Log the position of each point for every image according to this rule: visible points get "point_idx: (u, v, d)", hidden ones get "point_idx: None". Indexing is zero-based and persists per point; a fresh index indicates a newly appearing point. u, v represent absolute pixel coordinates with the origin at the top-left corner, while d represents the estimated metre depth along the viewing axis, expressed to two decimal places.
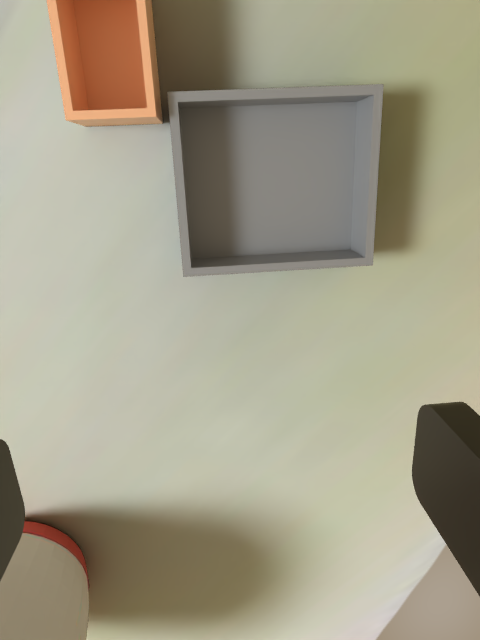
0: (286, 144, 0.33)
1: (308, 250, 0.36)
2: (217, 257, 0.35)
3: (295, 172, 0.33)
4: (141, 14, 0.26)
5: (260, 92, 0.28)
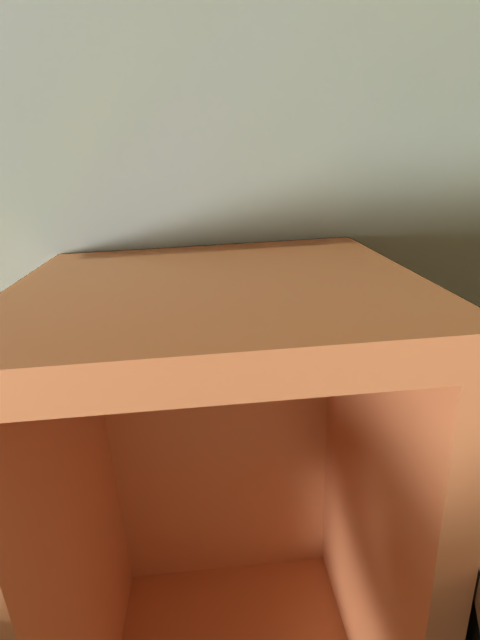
0: None
1: None
2: None
3: None
4: (456, 555, 0.05)
5: None
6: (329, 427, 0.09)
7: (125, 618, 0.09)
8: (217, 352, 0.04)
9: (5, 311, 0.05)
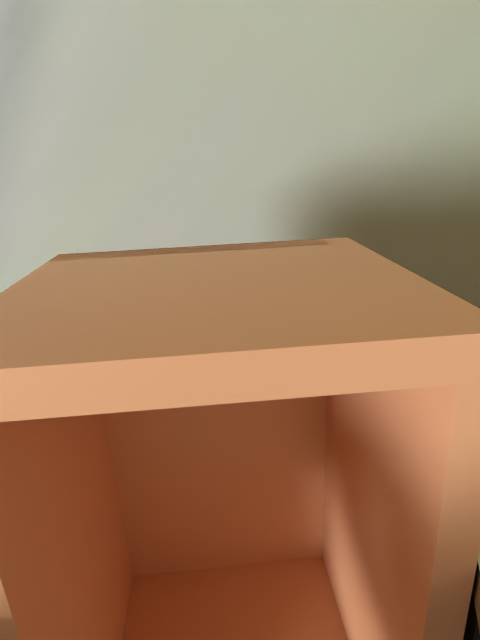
0: None
1: None
2: None
3: None
4: (454, 553, 0.05)
5: None
6: (329, 426, 0.09)
7: (126, 616, 0.09)
8: (217, 351, 0.04)
9: (7, 311, 0.05)
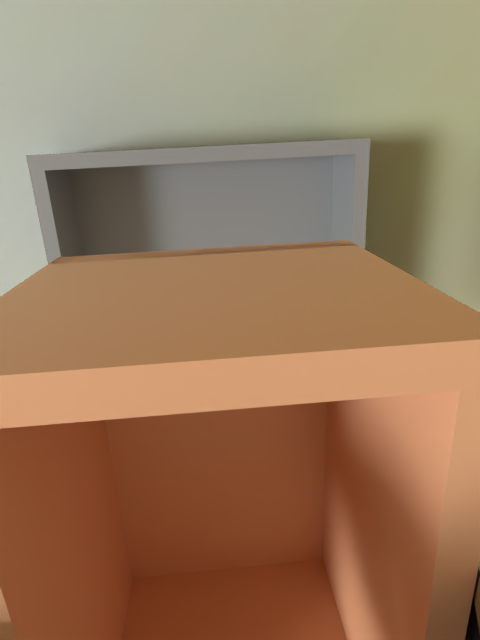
0: (231, 216, 0.22)
1: None
2: None
3: None
4: (455, 559, 0.05)
5: (176, 153, 0.18)
6: (329, 429, 0.09)
7: (125, 620, 0.09)
8: (217, 358, 0.04)
9: (6, 315, 0.05)
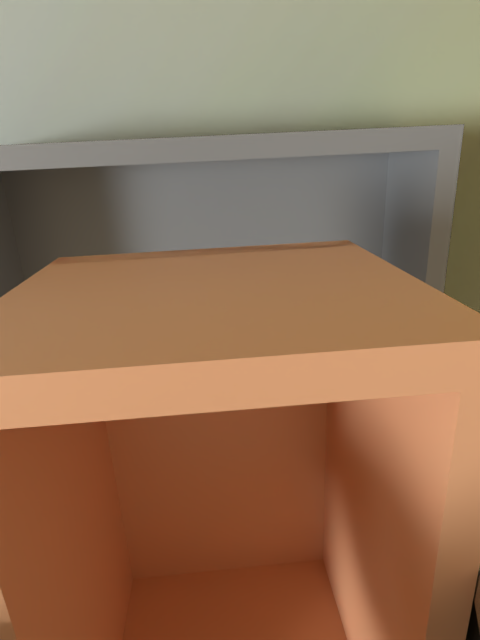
0: (239, 239, 0.16)
1: None
2: None
3: None
4: (456, 559, 0.05)
5: (155, 147, 0.11)
6: (329, 429, 0.09)
7: (125, 620, 0.09)
8: (217, 358, 0.04)
9: (6, 316, 0.05)
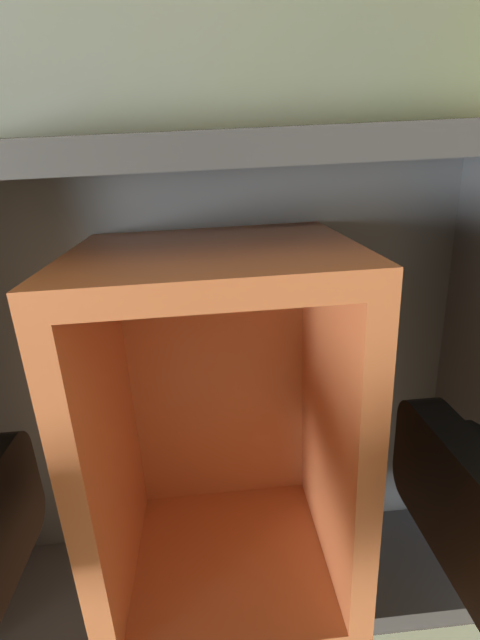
0: None
1: None
2: None
3: None
4: (373, 424, 0.07)
5: (128, 148, 0.07)
6: (304, 372, 0.11)
7: (142, 526, 0.12)
8: (214, 279, 0.06)
9: (70, 264, 0.07)
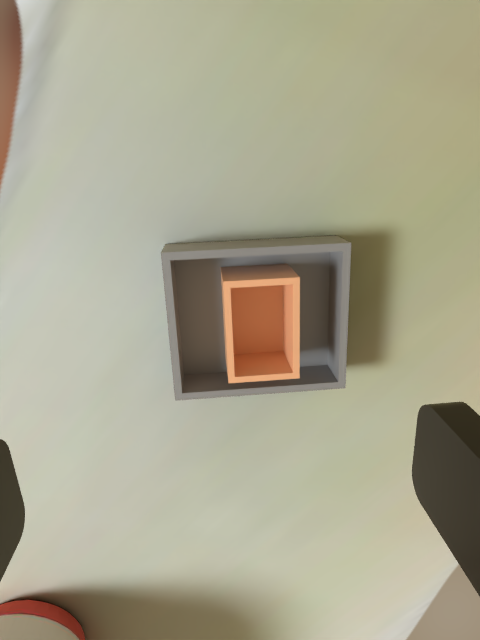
0: None
1: None
2: (206, 374, 0.39)
3: None
4: (296, 311, 0.32)
5: (242, 251, 0.32)
6: (283, 309, 0.37)
7: None
8: (262, 279, 0.32)
9: (227, 276, 0.33)
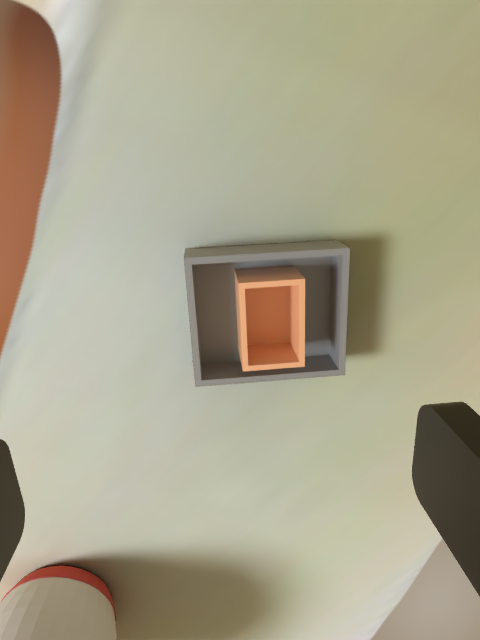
0: None
1: None
2: (221, 363, 0.44)
3: None
4: (301, 308, 0.37)
5: (255, 256, 0.37)
6: (290, 306, 0.41)
7: None
8: (272, 281, 0.36)
9: (241, 277, 0.38)
